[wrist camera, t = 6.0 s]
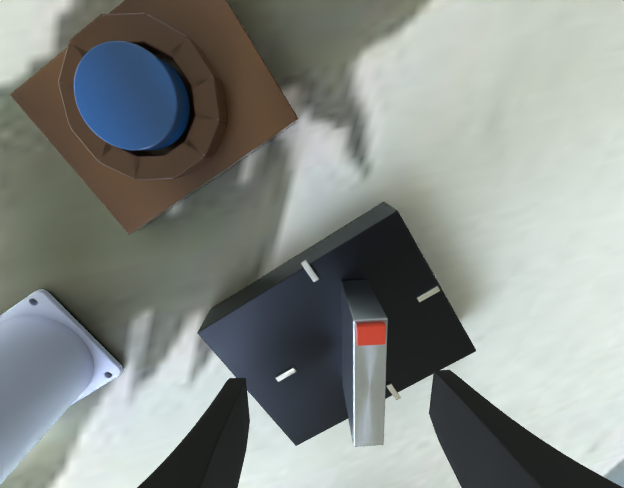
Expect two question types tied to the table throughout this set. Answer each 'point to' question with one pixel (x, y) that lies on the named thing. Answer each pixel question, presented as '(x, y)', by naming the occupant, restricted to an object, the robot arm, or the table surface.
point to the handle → (363, 361)
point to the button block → (202, 96)
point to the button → (131, 97)
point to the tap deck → (334, 323)
